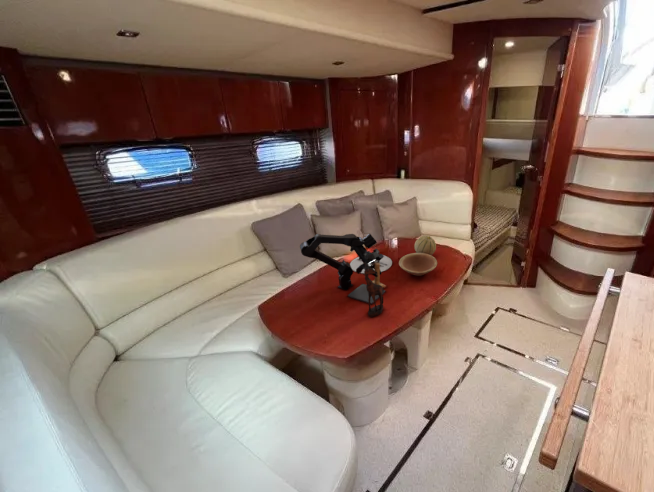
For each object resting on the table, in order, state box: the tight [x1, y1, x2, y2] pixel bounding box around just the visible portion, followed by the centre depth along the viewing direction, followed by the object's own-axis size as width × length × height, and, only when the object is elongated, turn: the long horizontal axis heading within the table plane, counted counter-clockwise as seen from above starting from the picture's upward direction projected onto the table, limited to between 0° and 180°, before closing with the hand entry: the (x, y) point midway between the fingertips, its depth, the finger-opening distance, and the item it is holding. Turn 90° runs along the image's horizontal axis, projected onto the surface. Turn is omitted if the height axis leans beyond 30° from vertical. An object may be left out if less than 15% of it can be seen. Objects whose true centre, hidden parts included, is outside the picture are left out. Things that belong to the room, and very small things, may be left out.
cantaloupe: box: [413, 235, 437, 256], centre depth 207 cm, size 15×15×15 cm
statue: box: [363, 262, 384, 318], centre depth 147 cm, size 12×7×30 cm, turn 139°
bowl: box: [398, 252, 438, 277], centre depth 189 cm, size 24×24×8 cm
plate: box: [349, 253, 393, 275], centre depth 202 cm, size 28×28×1 cm
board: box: [347, 283, 386, 306], centre depth 169 cm, size 16×14×1 cm
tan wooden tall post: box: [371, 262, 385, 290], centre depth 171 cm, size 8×4×15 cm, turn 40°
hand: (379, 275), depth 170 cm, fingers closed on tan wooden tall post, 3 cm apart
